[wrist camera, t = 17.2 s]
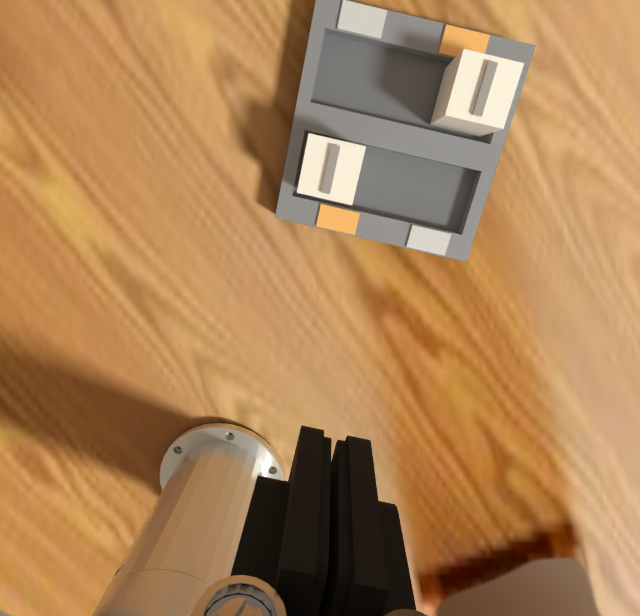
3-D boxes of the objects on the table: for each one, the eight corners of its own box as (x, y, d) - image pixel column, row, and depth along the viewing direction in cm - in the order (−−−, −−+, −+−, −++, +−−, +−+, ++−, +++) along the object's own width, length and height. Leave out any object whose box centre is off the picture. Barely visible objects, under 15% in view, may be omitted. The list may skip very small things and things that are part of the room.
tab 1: (479, 136, 34) (504, 128, 29) (429, 124, 34) (446, 114, 29) (496, 80, 33) (526, 62, 28) (445, 68, 33) (464, 47, 27)
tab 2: (350, 202, 36) (352, 205, 30) (302, 191, 35) (296, 192, 30) (362, 151, 34) (366, 146, 29) (312, 139, 34) (308, 132, 29)
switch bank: (459, 257, 38) (466, 261, 35) (278, 216, 37) (274, 218, 35) (522, 54, 33) (536, 44, 31) (318, 4, 33) (317, -9, 31)
